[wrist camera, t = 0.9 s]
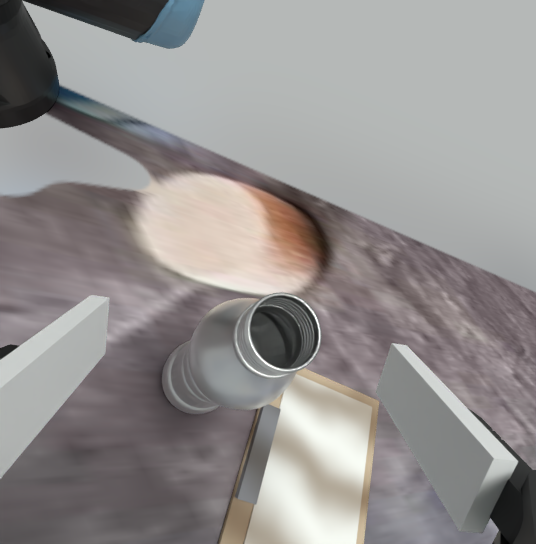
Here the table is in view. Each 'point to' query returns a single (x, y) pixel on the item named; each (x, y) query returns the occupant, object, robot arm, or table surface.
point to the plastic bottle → (242, 354)
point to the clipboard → (305, 467)
